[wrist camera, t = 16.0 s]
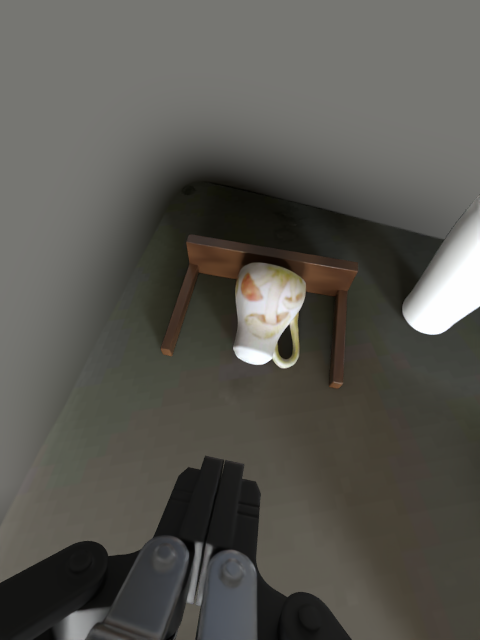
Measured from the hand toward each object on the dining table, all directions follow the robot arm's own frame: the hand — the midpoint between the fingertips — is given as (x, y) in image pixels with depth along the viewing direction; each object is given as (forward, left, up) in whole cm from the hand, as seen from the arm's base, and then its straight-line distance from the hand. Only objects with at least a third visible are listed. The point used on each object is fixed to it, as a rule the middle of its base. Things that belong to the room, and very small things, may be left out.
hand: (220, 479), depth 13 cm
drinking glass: (+18, +22, -19) cm, 34 cm away
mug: (+1, +17, -19) cm, 25 cm away
